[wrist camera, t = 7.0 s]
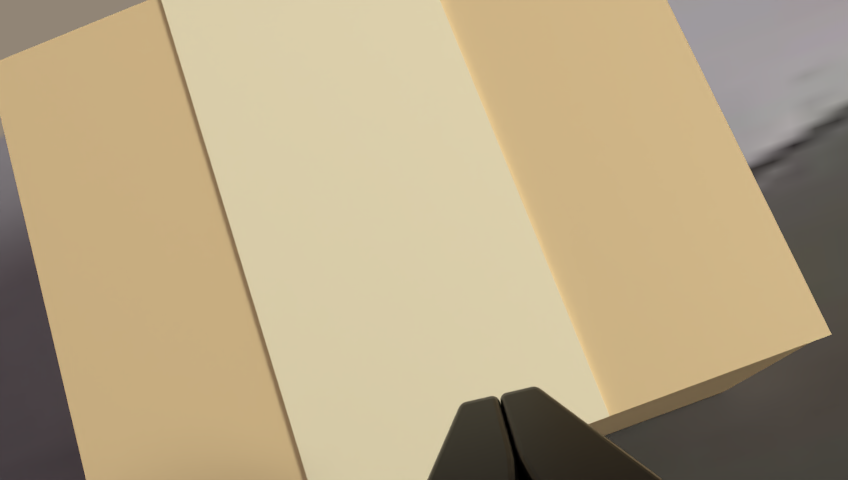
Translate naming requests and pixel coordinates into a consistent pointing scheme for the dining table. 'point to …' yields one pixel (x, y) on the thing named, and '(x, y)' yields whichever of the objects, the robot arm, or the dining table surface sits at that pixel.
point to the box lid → (380, 226)
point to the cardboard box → (683, 396)
